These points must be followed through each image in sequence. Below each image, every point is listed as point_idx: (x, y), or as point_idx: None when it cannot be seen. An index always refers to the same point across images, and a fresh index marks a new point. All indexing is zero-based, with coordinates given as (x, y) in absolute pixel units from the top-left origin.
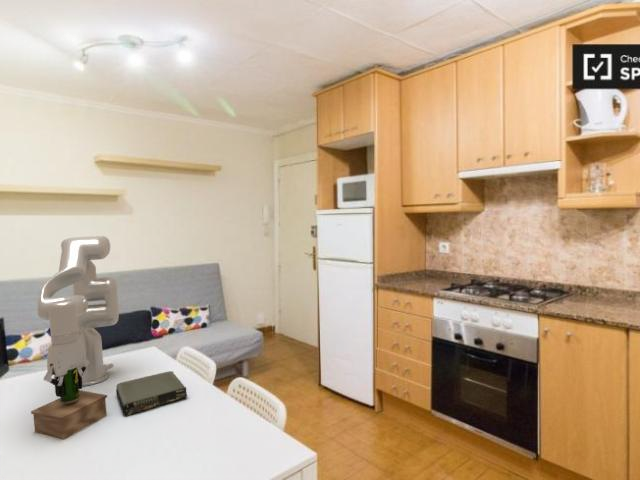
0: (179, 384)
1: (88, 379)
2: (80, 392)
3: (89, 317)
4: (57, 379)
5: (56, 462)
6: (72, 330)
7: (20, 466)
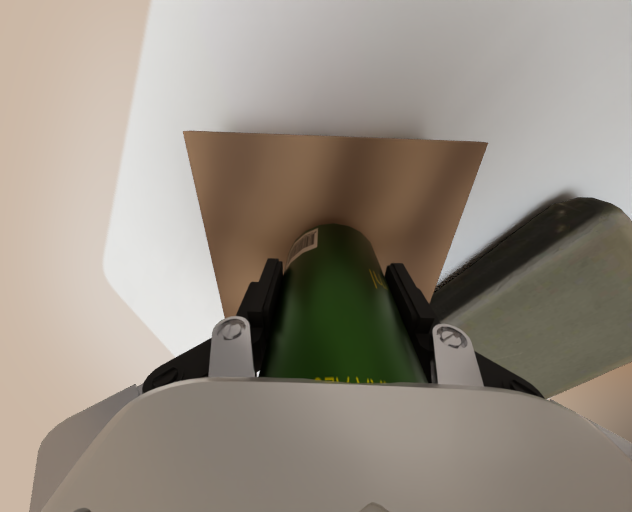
0: None
1: None
2: (445, 198)
3: None
4: (247, 362)
5: (191, 330)
6: None
7: (133, 277)
